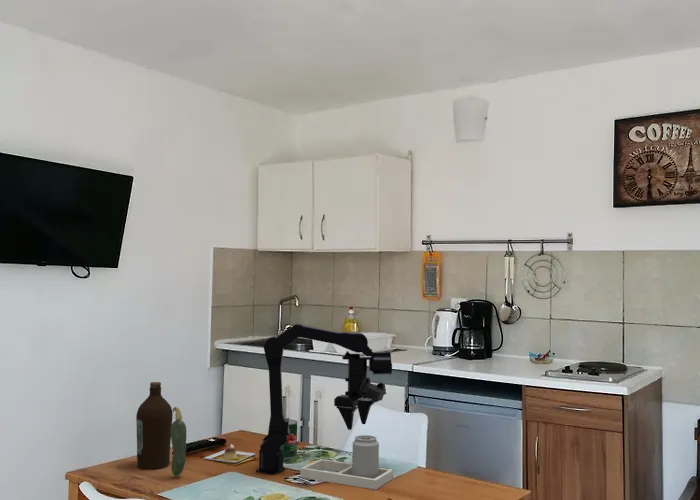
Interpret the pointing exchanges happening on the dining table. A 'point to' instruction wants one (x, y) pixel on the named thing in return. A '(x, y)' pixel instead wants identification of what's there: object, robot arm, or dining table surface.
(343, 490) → the dining table surface
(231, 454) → the dessert
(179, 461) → the vegetable
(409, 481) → the dining table surface
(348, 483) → the organizer
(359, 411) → the robot arm
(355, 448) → the can
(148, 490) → the dining table surface
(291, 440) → the canned tomato
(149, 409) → the olive oil
